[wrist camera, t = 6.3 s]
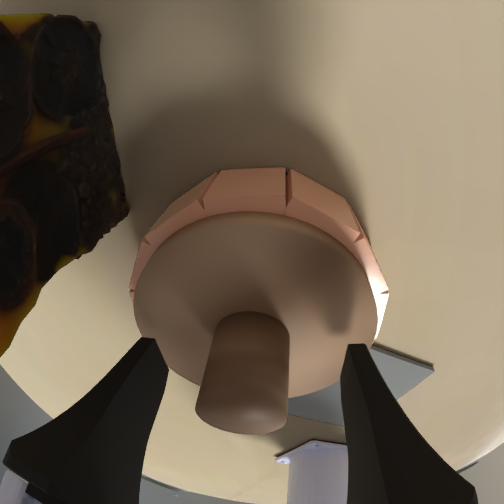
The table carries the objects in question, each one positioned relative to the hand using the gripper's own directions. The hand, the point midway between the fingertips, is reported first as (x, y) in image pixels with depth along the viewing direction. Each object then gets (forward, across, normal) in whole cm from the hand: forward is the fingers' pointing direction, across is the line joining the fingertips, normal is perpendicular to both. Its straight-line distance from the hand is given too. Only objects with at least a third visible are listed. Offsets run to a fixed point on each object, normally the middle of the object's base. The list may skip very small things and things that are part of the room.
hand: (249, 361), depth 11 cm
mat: (+5, -6, +11) cm, 13 cm away
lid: (+2, 0, 0) cm, 2 cm away
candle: (+6, +11, -9) cm, 15 cm away
